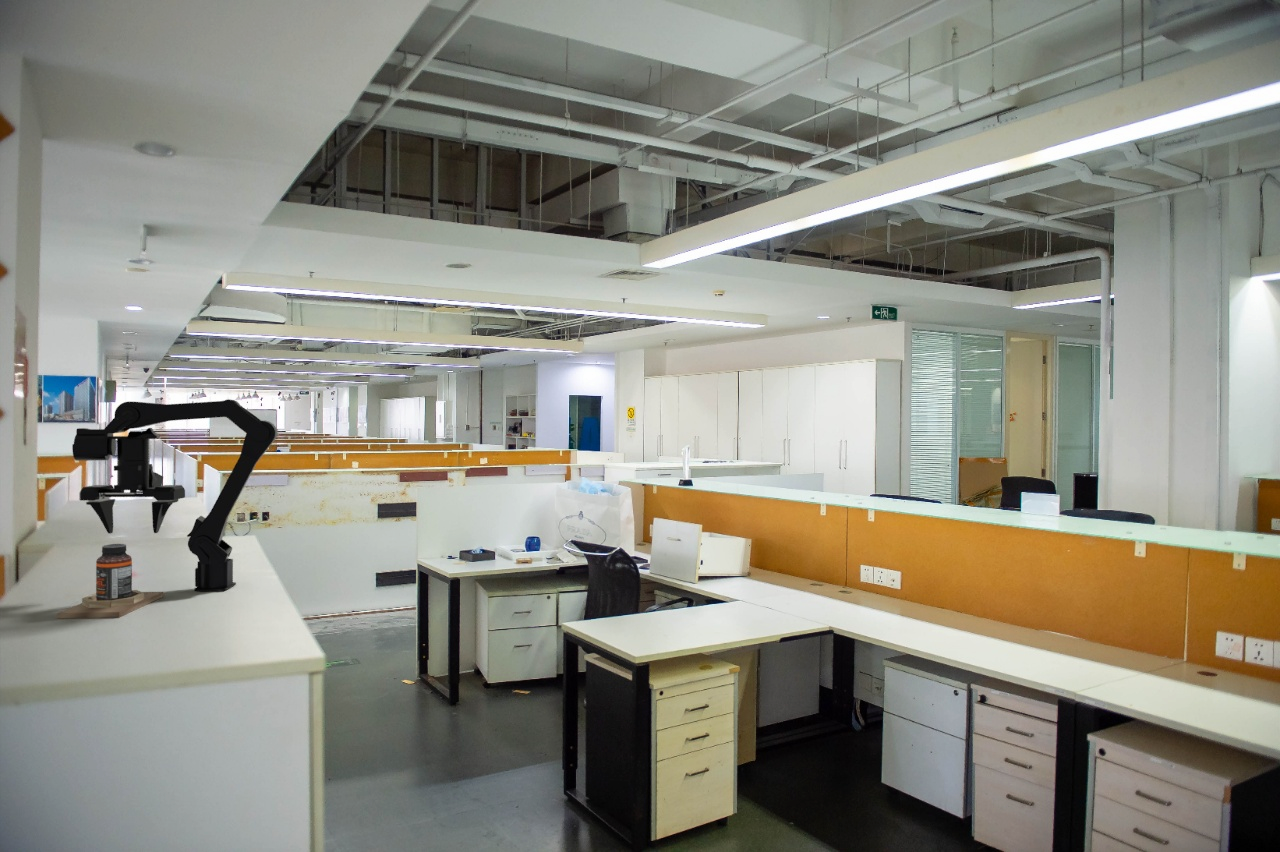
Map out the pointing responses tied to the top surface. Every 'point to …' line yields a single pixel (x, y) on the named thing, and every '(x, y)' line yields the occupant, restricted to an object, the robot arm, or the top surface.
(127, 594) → the supplement bottle
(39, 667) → the top surface
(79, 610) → the wooden board with rim
